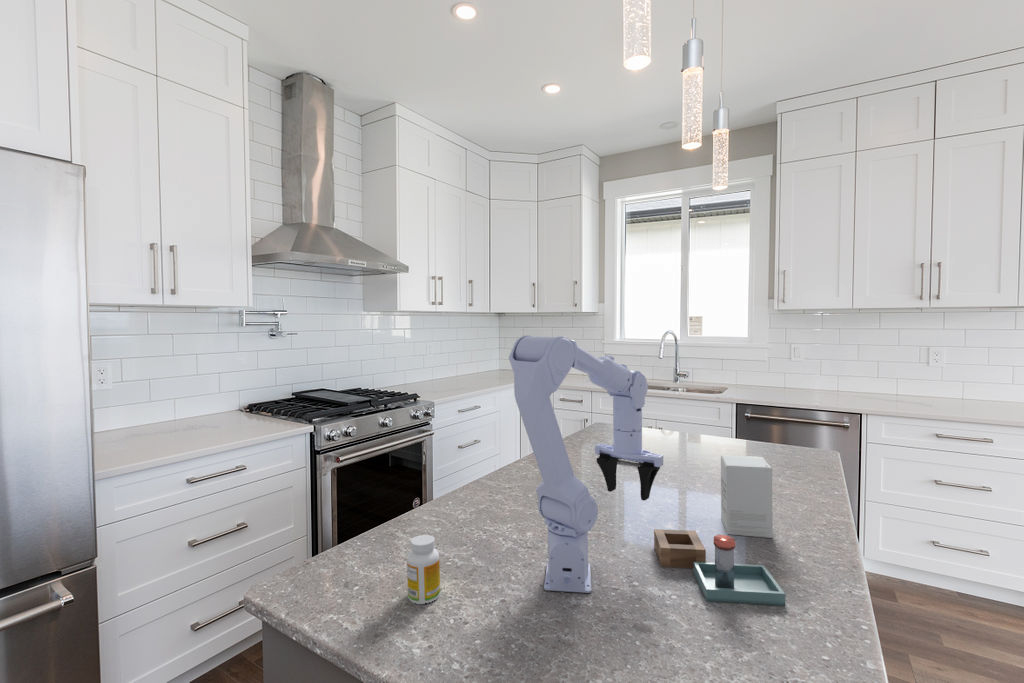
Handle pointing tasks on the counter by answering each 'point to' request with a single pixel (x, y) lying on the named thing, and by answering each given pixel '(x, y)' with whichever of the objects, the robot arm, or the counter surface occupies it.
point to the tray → (740, 585)
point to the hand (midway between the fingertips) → (628, 494)
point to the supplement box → (746, 496)
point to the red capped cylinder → (724, 561)
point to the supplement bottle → (423, 570)
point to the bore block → (678, 548)
